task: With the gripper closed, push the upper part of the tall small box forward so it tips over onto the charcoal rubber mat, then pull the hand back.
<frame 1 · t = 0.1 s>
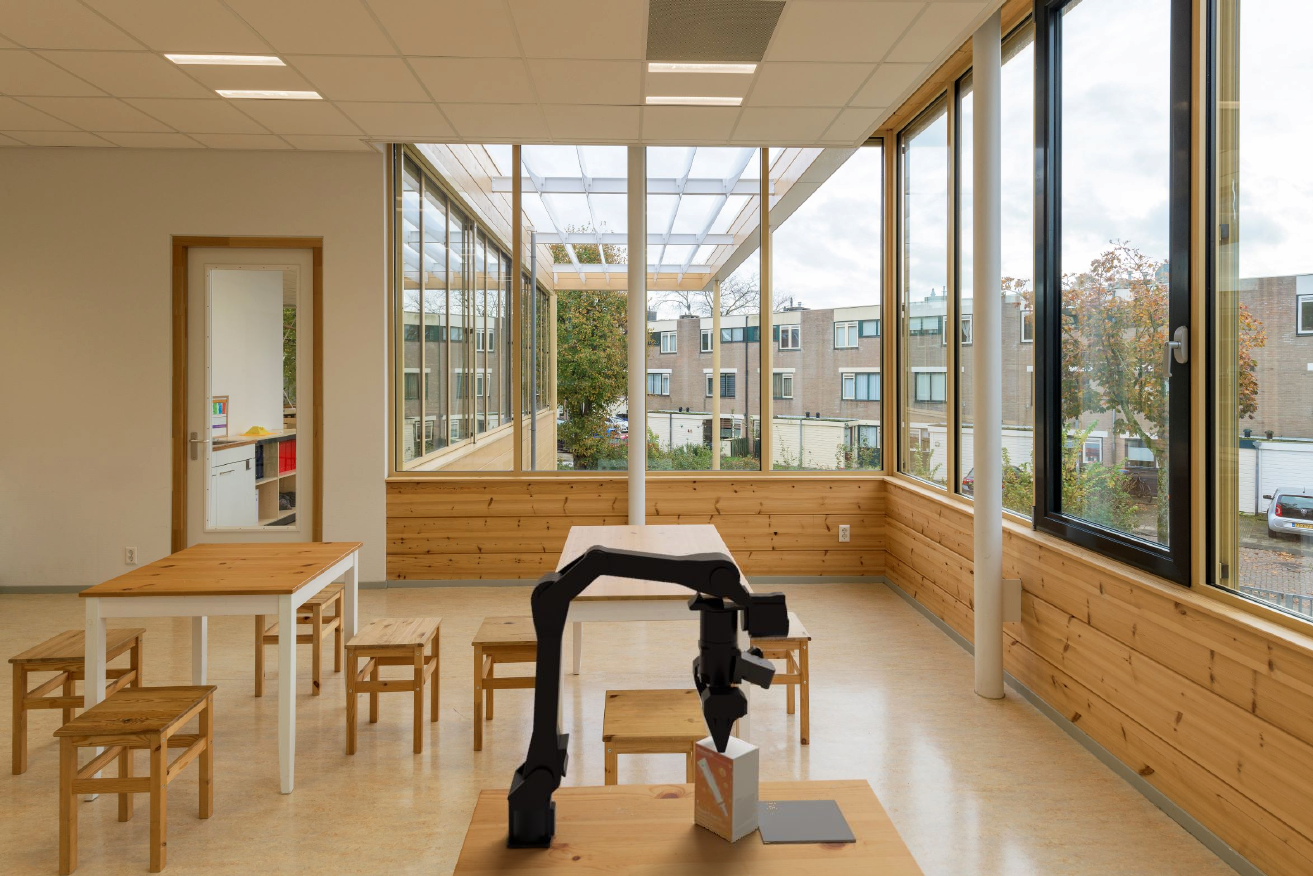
hand: (717, 739, 122), 15 cm above the table, tool pointing down, fingers open, 9 cm apart
small box: (725, 827, 125), on the table
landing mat: (800, 821, 126), on the table
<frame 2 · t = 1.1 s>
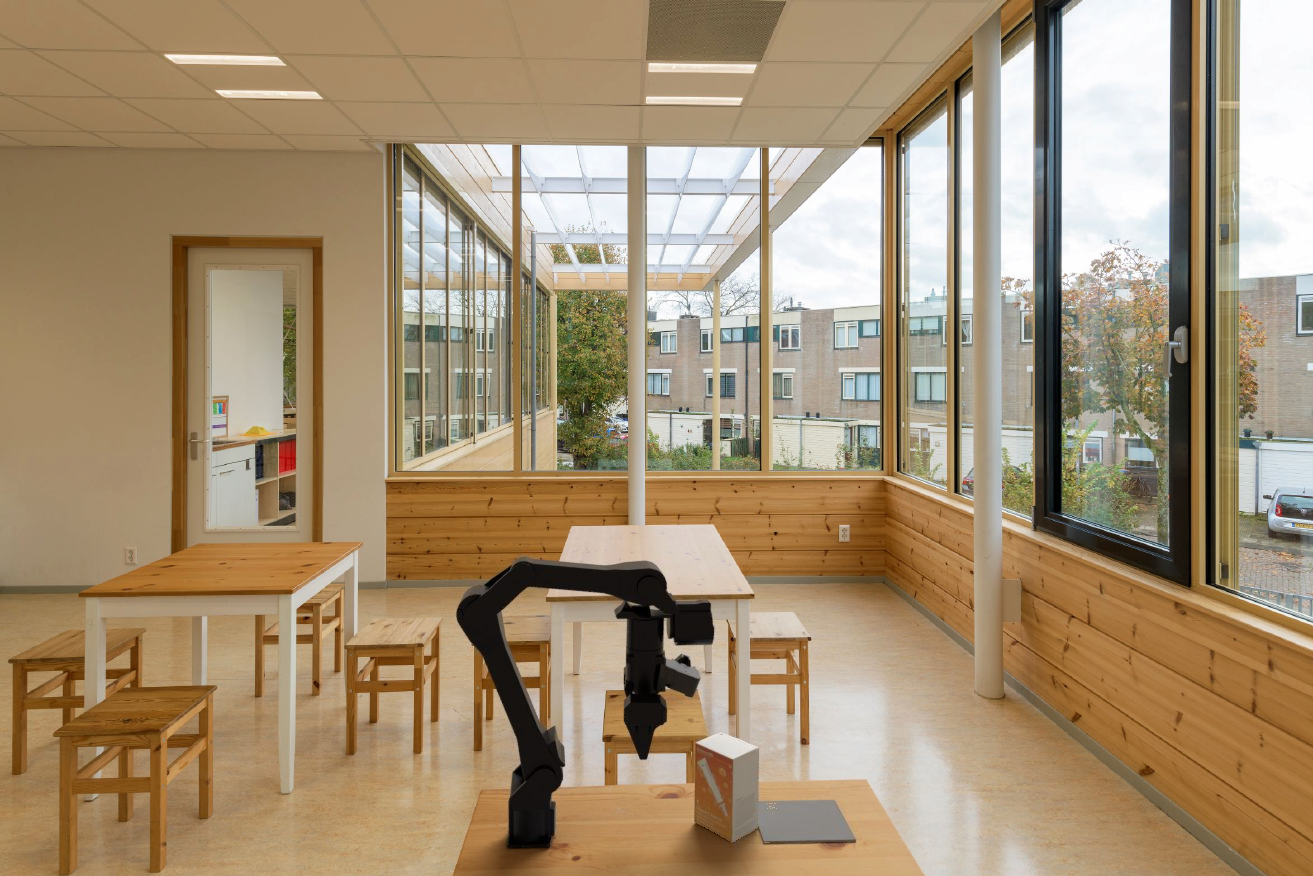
hand: (642, 746, 123), 13 cm above the table, tool pointing down, fingers open, 9 cm apart
nothing on the table moved.
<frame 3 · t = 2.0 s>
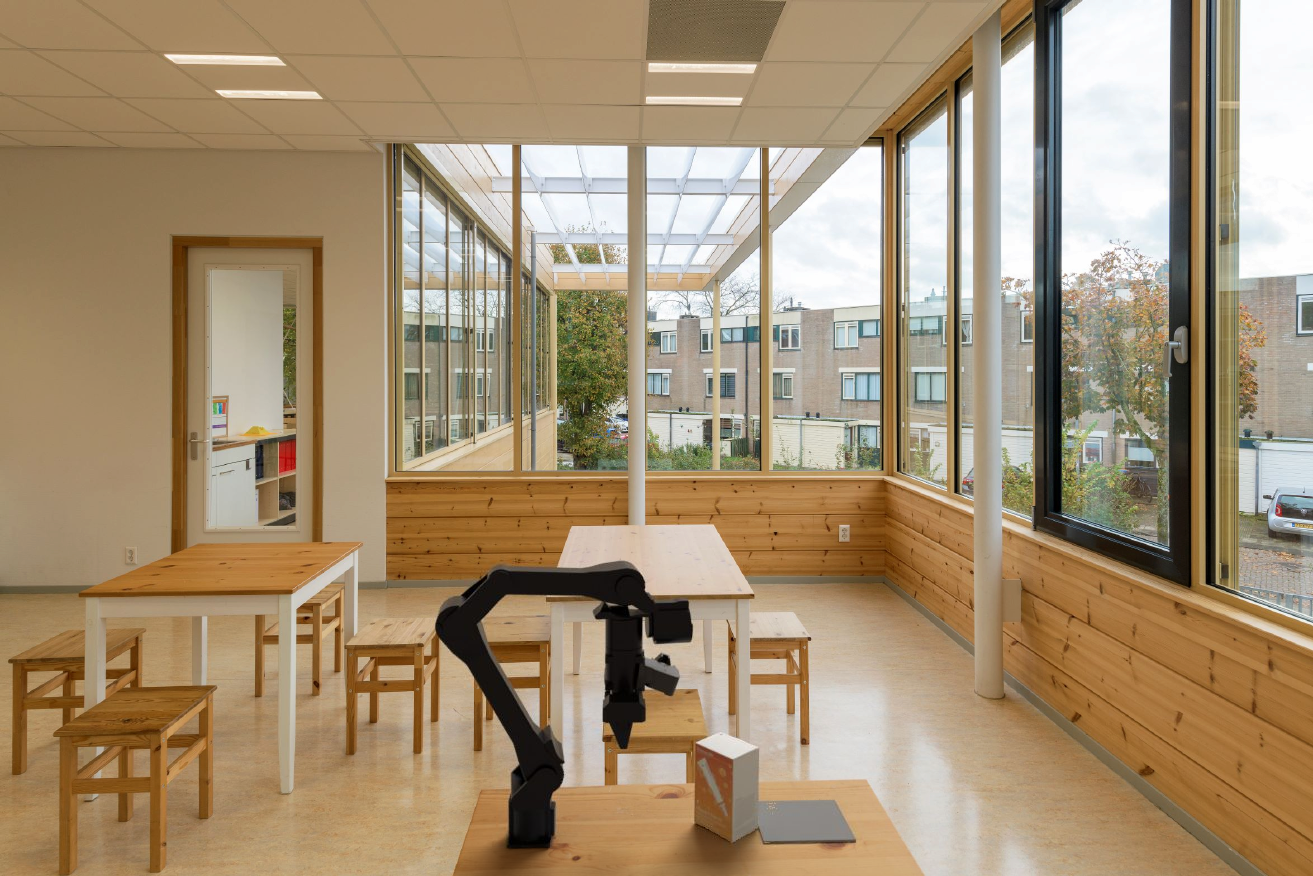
hand: (623, 745, 123), 13 cm above the table, tool pointing down, fingers closed
nothing on the table moved.
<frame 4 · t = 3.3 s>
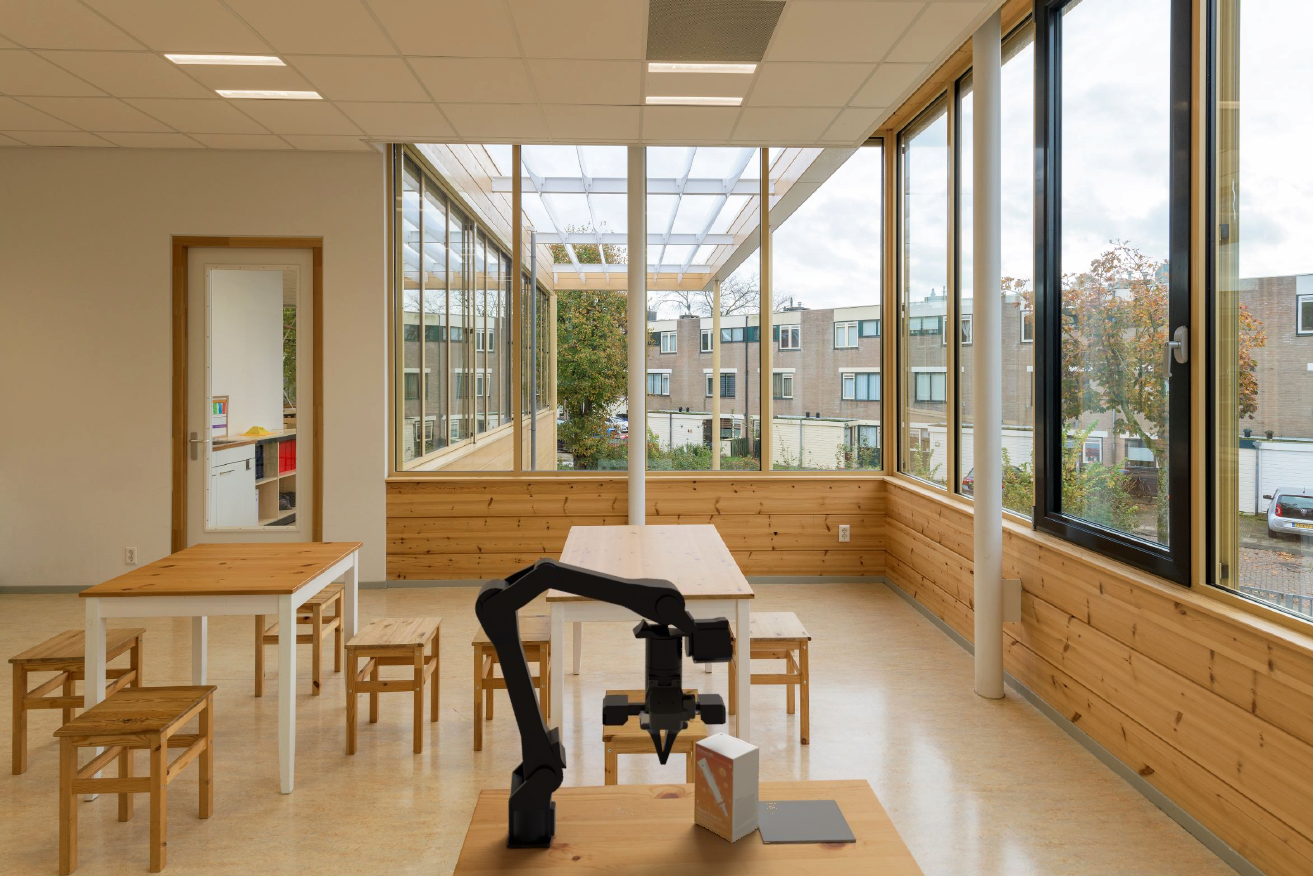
hand: (663, 763, 124), 10 cm above the table, tool pointing down, fingers closed
nothing on the table moved.
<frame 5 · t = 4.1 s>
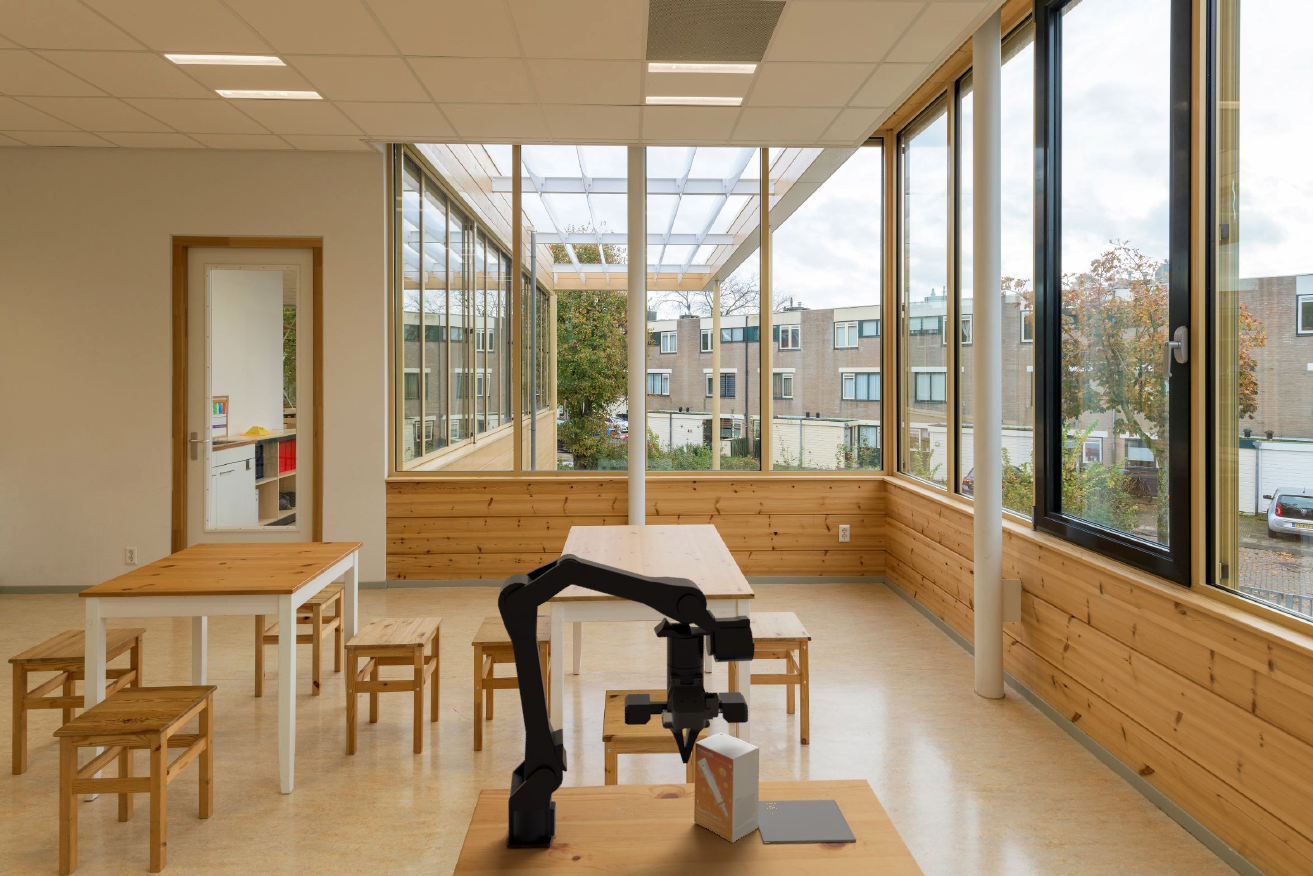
hand: (685, 762, 124), 10 cm above the table, tool pointing down, fingers closed
small box: (725, 827, 125), on the table, touching gripper
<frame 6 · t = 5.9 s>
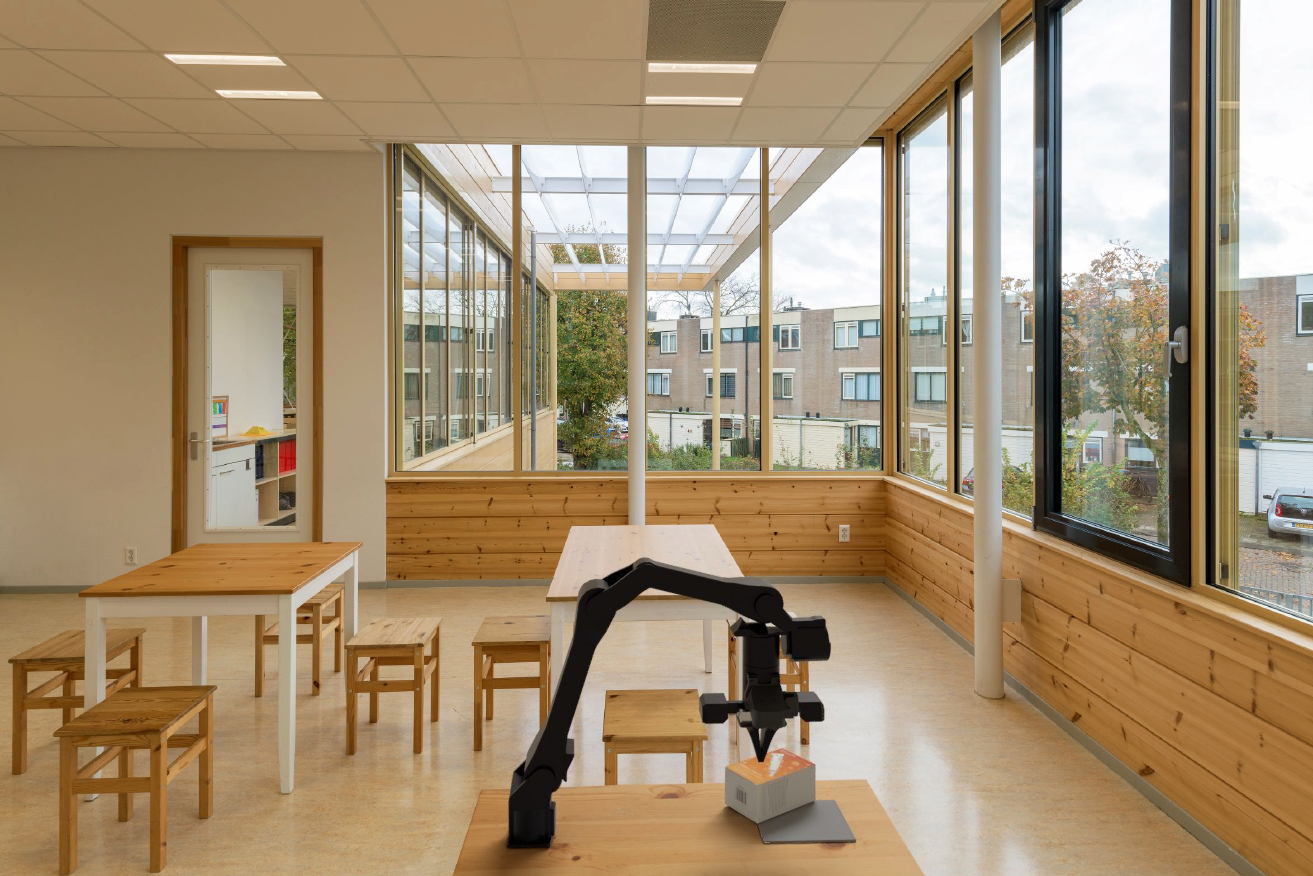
hand: (760, 761, 124), 10 cm above the table, tool pointing down, fingers closed
small box: (739, 795, 127), point 4 cm above the table, touching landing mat
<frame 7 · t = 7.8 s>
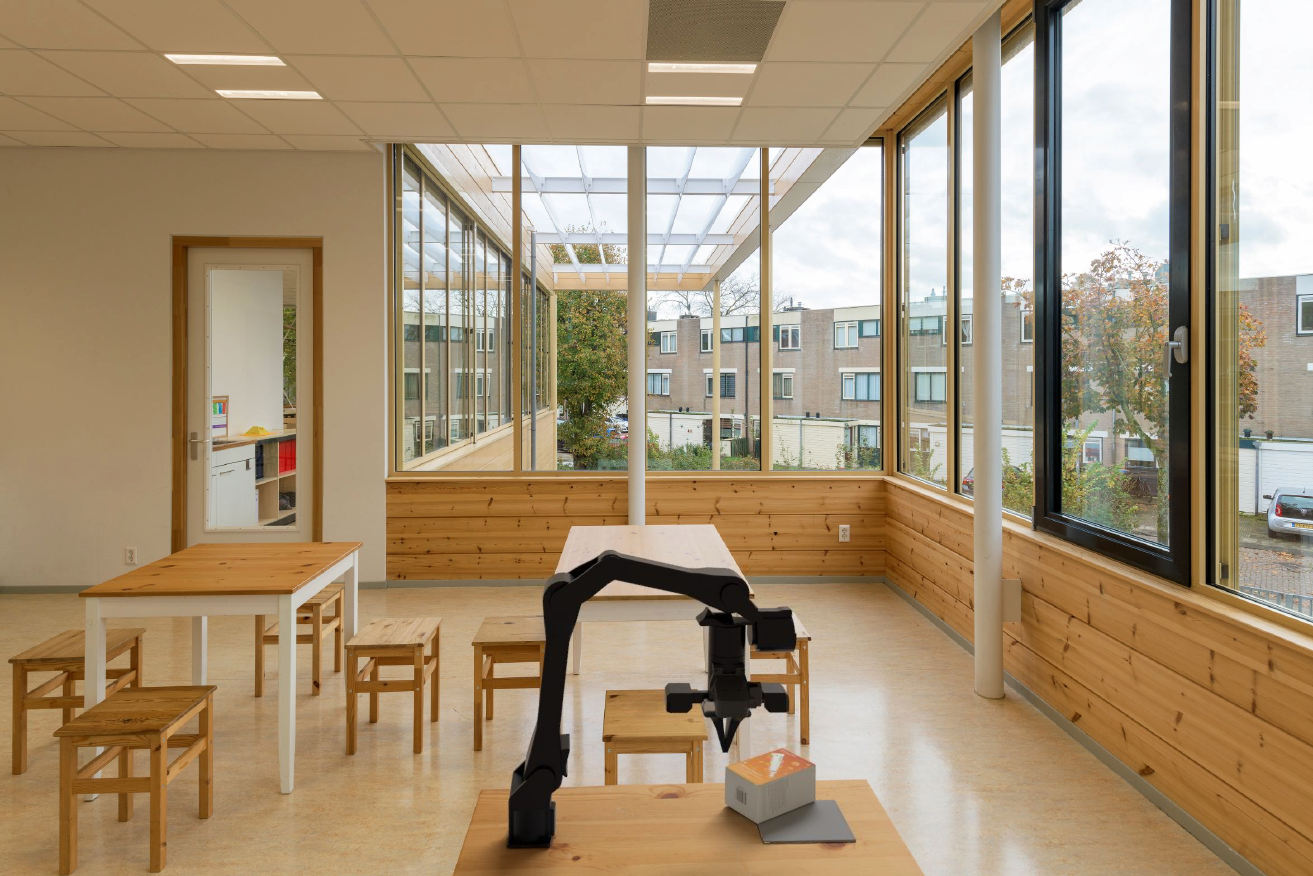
hand: (724, 751, 124), 12 cm above the table, tool pointing down, fingers closed
nothing on the table moved.
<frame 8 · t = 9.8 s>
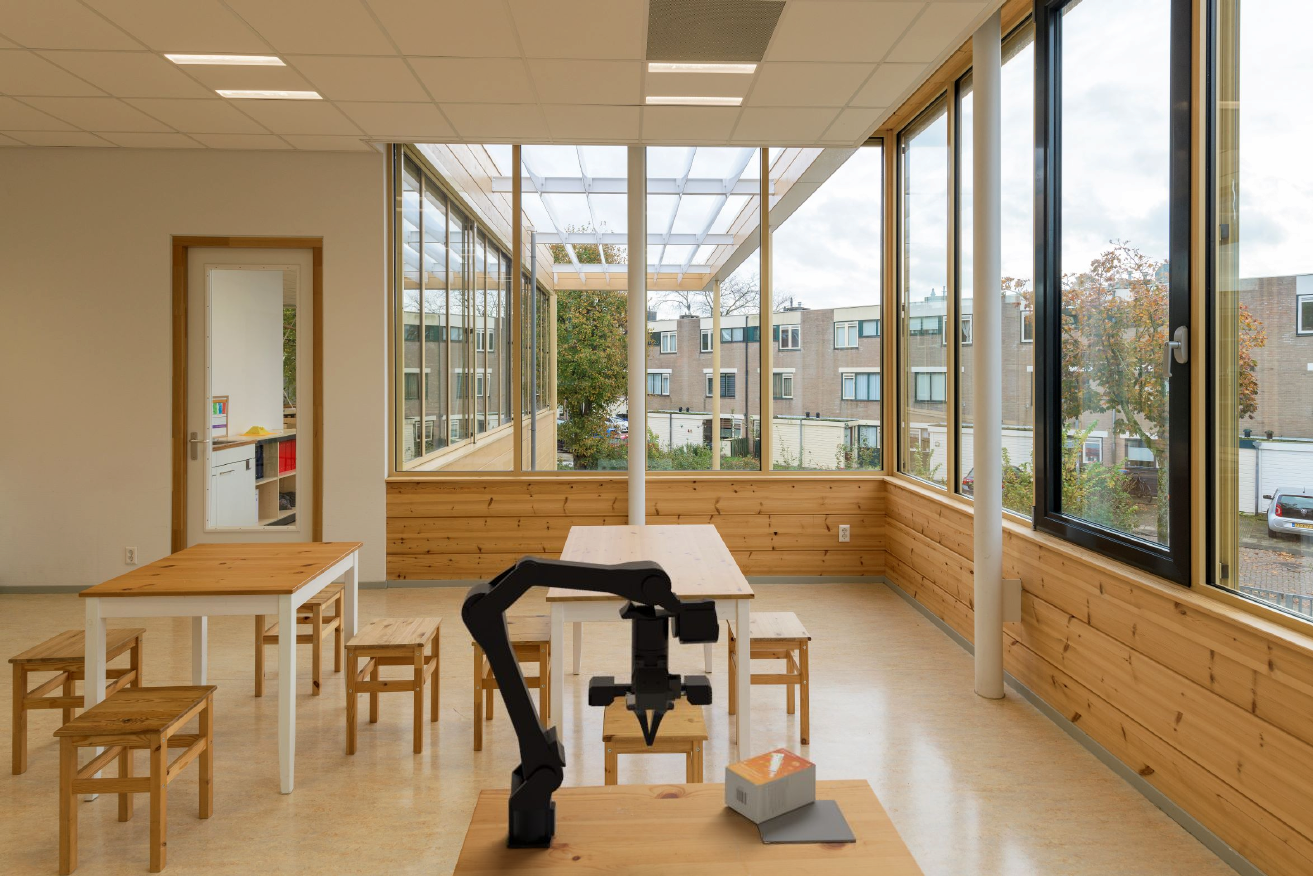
hand: (649, 745, 123), 13 cm above the table, tool pointing down, fingers closed
nothing on the table moved.
at the end: small box tilted 90°; small box touching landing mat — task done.
